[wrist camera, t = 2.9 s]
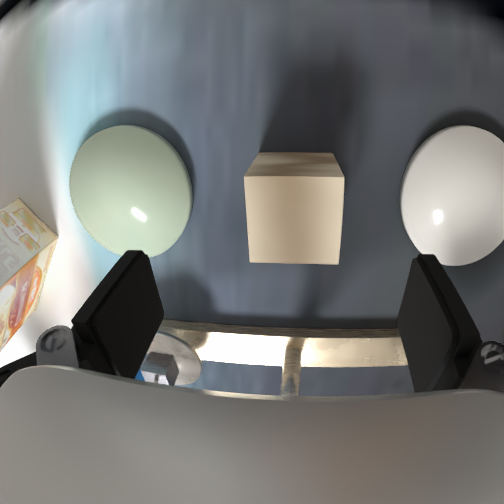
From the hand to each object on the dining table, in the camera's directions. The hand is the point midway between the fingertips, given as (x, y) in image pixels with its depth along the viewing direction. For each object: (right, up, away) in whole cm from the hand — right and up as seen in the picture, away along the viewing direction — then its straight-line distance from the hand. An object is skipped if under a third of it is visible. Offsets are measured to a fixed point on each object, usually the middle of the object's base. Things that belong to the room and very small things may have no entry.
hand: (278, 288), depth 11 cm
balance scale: (+3, -7, +18) cm, 20 cm away
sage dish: (-11, +6, +13) cm, 18 cm away
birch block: (+2, +6, +11) cm, 12 cm away
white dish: (+15, +5, +9) cm, 18 cm away
